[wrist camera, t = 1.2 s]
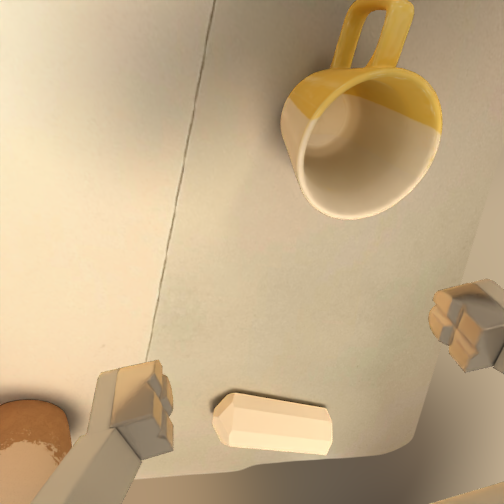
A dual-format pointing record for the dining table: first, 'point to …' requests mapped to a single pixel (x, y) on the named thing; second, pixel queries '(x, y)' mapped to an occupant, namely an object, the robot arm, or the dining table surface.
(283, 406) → the crystal
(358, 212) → the mug
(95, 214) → the dining table surface
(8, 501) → the vase
